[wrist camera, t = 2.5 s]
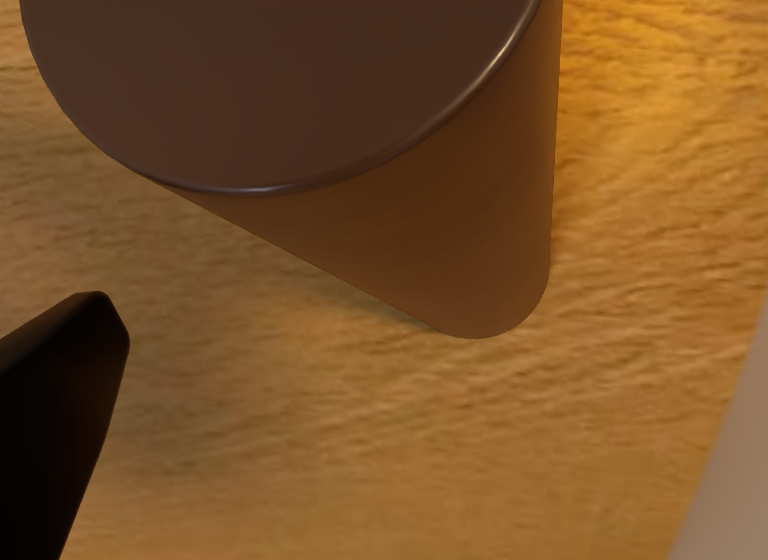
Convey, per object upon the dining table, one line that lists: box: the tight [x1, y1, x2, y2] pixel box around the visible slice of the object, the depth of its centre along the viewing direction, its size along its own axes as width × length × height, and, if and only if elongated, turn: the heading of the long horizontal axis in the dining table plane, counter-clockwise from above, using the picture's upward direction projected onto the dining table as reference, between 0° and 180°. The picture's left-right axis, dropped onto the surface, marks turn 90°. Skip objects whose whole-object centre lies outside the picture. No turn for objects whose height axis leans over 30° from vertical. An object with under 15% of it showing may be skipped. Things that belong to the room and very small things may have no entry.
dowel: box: [19, 0, 563, 339], centre depth 12 cm, size 4×4×15 cm
